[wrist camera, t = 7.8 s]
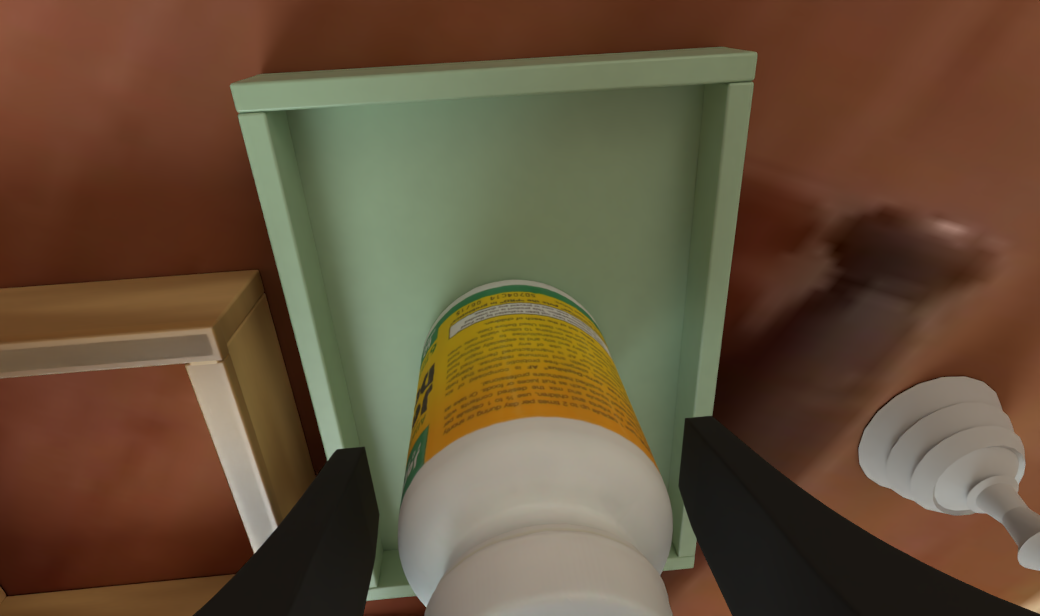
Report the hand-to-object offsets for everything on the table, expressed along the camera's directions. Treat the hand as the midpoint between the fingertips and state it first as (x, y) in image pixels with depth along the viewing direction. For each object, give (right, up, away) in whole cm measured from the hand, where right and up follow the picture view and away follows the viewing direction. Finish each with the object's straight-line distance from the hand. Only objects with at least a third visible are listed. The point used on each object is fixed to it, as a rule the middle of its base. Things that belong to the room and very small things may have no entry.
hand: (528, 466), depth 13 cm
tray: (0, +2, +5) cm, 5 cm away
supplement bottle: (0, +2, +4) cm, 5 cm away
